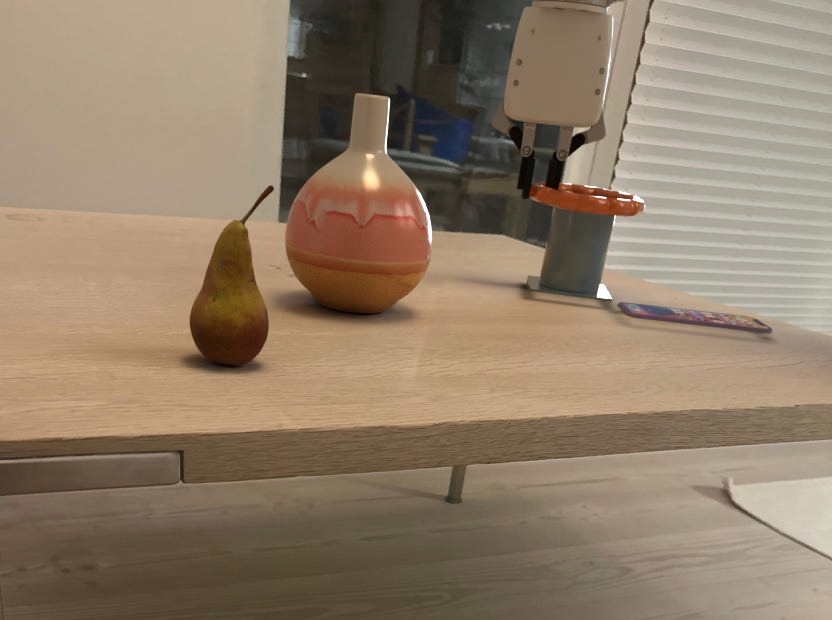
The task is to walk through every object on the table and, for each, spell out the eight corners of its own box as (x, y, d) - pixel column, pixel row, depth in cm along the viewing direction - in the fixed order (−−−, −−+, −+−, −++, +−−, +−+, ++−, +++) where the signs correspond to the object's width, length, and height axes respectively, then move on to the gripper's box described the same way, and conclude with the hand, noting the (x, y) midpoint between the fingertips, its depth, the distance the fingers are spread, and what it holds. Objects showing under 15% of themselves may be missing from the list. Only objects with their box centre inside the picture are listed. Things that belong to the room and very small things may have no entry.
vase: (261, 308, 84) (271, 84, 75) (306, 284, 96) (320, 87, 86) (406, 332, 82) (434, 103, 73) (435, 305, 93) (463, 104, 84)
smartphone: (613, 309, 101) (750, 325, 100) (627, 322, 94) (773, 339, 94) (615, 301, 100) (753, 316, 100) (629, 313, 94) (776, 330, 94)
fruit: (219, 347, 71) (223, 174, 65) (281, 364, 69) (291, 186, 63) (172, 360, 67) (171, 176, 61) (235, 378, 64) (242, 189, 58)
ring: (633, 208, 105) (637, 192, 104) (649, 222, 95) (653, 205, 94) (525, 192, 106) (528, 176, 105) (529, 204, 95) (533, 187, 95)
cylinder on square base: (602, 293, 109) (621, 210, 104) (610, 308, 101) (631, 219, 96) (526, 283, 109) (541, 200, 105) (528, 298, 102) (545, 209, 97)
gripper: (646, 6, 94) (604, 204, 103) (492, -10, 95) (464, 188, 104) (657, -1, 87) (611, 211, 97) (492, -18, 88) (462, 193, 98)
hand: (535, 197), depth 101 cm, fingers closed on ring, 1 cm apart
